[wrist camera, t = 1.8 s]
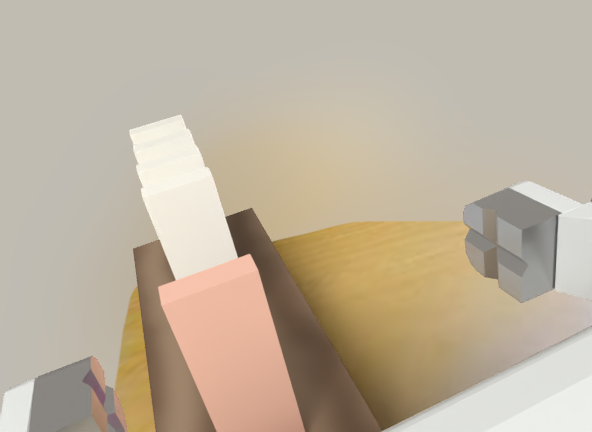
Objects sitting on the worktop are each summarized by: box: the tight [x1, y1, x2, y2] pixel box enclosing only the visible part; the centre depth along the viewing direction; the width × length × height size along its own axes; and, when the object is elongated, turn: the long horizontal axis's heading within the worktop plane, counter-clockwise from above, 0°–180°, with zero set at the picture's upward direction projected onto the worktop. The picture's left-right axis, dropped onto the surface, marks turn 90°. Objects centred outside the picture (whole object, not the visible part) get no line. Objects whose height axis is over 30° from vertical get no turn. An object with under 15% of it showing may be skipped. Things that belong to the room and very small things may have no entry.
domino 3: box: [136, 146, 205, 188], centre depth 44 cm, size 5×2×14 cm, turn 110°
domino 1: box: [129, 115, 187, 145], centre depth 51 cm, size 5×2×14 cm, turn 110°
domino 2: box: [133, 129, 195, 164], centre depth 48 cm, size 5×2×14 cm, turn 110°
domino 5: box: [158, 254, 305, 432], centre depth 30 cm, size 5×2×14 cm, turn 110°
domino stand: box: [133, 208, 382, 432], centre depth 47 cm, size 14×34×10 cm, turn 20°
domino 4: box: [141, 167, 238, 280], centre depth 40 cm, size 5×2×14 cm, turn 110°
